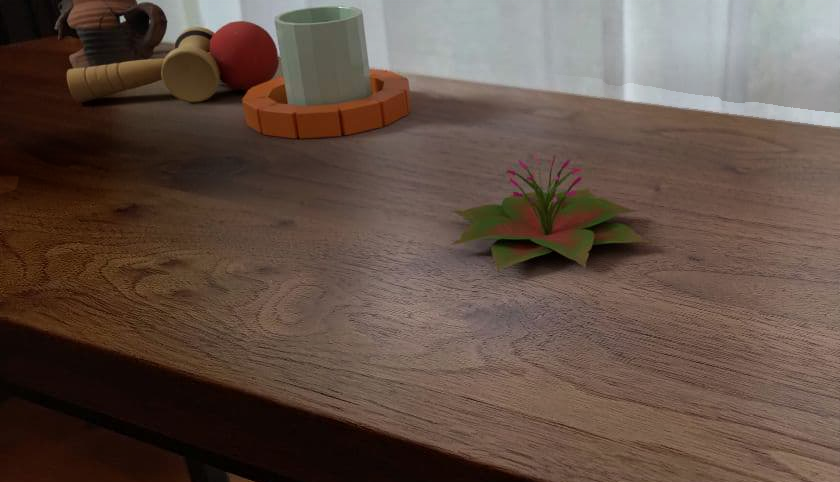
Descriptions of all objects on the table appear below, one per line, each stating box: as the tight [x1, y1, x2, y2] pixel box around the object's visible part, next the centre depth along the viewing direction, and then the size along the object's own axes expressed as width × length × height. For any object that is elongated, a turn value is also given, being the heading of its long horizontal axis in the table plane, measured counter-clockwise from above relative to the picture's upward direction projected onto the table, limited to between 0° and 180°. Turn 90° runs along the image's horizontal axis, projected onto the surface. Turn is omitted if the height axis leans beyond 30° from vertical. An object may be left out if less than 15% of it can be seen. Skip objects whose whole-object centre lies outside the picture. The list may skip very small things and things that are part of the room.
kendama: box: [66, 20, 280, 104], centre depth 88 cm, size 8×6×18 cm
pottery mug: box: [53, 0, 168, 69], centre depth 100 cm, size 12×10×8 cm
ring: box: [241, 68, 412, 140], centre depth 82 cm, size 13×13×2 cm
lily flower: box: [450, 154, 650, 272], centre depth 57 cm, size 12×12×5 cm
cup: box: [274, 5, 372, 106], centre depth 80 cm, size 7×7×8 cm
